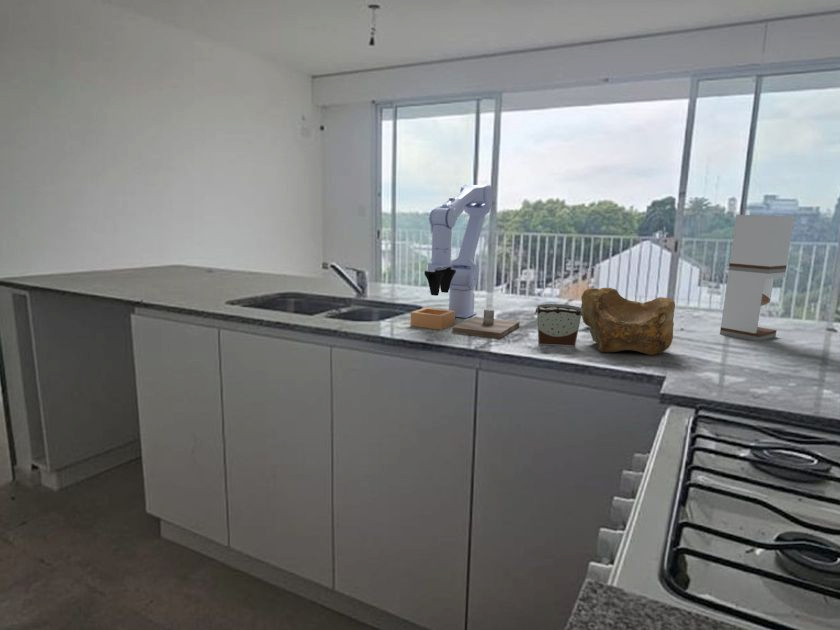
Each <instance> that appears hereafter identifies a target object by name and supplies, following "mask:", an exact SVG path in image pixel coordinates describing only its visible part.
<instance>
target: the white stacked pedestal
mask: <svg viewBox="0 0 840 630" xmlns="http://www.w3.org/2000/svg"><path fill="white" fill-rule="evenodd" d="M794 220H795V216H793V215H789V216H788V215H767V214H766V215H765V214H759V215H758V214H754V215H753V214H735V221H734V227H733V235H732V243H731V250H730V257H729V264H728V272H727V279H726V287H725V294H724V300H723V308H722V316H721V322H720V330H719V334H720V335H724V336H729V337H734V338H738V339H739V338H740V339H746V340H751V341H755V342H761V341H764V340H769V339H772V338H776V337H777V329H771V328H766V327H762V326H758V325H759V320H760V313H761V307H762V306H766V305H767V304H769V303H770V302H771V299H772V293H773V284H774V279H780V278H785V277H786V272H787V266H788V259H789V253H790V248H791V247H790V246H791V240H792V234H793V228H794Z"/></svg>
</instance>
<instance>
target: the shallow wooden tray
mask: <svg viewBox="0 0 840 630" xmlns="http://www.w3.org/2000/svg"><path fill="white" fill-rule="evenodd" d="M455 324H456V317H455V311H451V310H449V309H440V308H432V307H423V308H420V309H417V310H415V311H414V310H413V311H411V312H410V326H411V327H417V328H424V329H425V328H426V329H434V330H441V331H443V330H444V329H446V328H448V327H451V326H454V325H455Z"/></svg>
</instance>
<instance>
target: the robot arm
mask: <svg viewBox="0 0 840 630" xmlns="http://www.w3.org/2000/svg"><path fill="white" fill-rule="evenodd" d="M493 201H494V189H493V187H492V185H490V184H463V185H462V186H461V187H460V192H459V194H458V195H457V196H456V197H455V196H450V197H449V198H448V200H447V201H446V202H444V203H443V204H442V205H441V206H440V207H435V208H433V209H432V210H431V211H430V213H429V217H428V220H429V221H428V222H429V225H430V232H431V233H432V236H431V237H432V238H431V239H432V240H431V262H427V270H425V271H424V275H425V278H426V280H427V283H428V286H429V292H430V296H435V297H436V296H437V297H438V296H439V294H440V292H441V293H446V294H448V293H449V294H448V295H449V299H448V310H451V311H455V318H463V319H467V318H471V317H473V316H474V315H476V314H477V312H474V311H475V310H474V309H475V293H474V291H473V290H474V288H475V287H476V286H477V284H478V280H479V271H480V270H479V267H478V266H477V264H476V263H475V262H474V258H475V255H476V251H477V247H478V244H479V241H480V237H481V233H482V230H483V225H484V222H485V217H486V216H487V215H488V214H489V213H491V209H492V204H493ZM464 212H465V214H467V215H468V216H469V217H468V221H467V224H466V228H465V231H464V234H463V235H464V236H463V239H462V242H461V246H460V249H459V253H458V256H457V258H455V259H453V260H452V261H451V257H452V256H451V255H452V237H453V236H452V234H453V232H452V231H453V228H454V227H455V225H456V222H457V220H458V217H459V216H460V215H462V213H464Z"/></svg>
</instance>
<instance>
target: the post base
mask: <svg viewBox="0 0 840 630" xmlns="http://www.w3.org/2000/svg"><path fill="white" fill-rule="evenodd" d="M520 322H521V321H517V320H509V319H508V320H507V319H499V318H495V310H494V309H490V308H489V309H488V308H487V309H483V317H482V316H481V317H480V316H475V317H472V318H470V319H467V320H465V321H463V322H461V323H459V324H457V325H455V326H454V325H453V326H452V333H454V334H455V333H456V334H462V335H470V336H471V335H472V336H478V337H484V338H485V337H486V338H493V339H502V338H503V337H505V336H507V335H508V334H510V333H511V332H513V331H515V330H516V329H518V328H520Z"/></svg>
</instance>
